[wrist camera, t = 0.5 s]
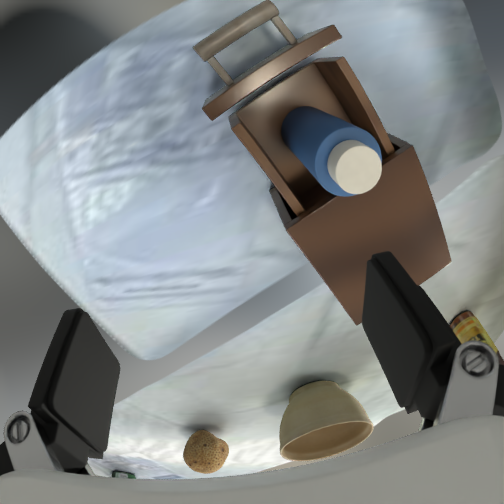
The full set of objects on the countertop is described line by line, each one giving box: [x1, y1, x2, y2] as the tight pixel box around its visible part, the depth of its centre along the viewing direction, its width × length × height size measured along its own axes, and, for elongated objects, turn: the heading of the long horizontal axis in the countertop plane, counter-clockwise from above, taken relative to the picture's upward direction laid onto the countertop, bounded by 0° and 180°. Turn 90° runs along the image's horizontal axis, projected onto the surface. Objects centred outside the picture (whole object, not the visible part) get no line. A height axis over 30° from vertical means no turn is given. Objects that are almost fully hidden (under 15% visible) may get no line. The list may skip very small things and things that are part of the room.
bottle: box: [281, 106, 382, 197], centre depth 22 cm, size 5×5×12 cm
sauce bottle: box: [450, 311, 504, 365], centre depth 41 cm, size 7×6×20 cm
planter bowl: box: [280, 381, 374, 461], centre depth 49 cm, size 16×16×11 cm
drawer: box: [193, 0, 395, 217], centre depth 24 cm, size 18×11×7 cm, turn 35°
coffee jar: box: [112, 471, 136, 479], centre depth 67 cm, size 10×8×19 cm
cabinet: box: [270, 133, 451, 325], centre depth 31 cm, size 15×13×9 cm
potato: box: [183, 430, 229, 474], centre depth 54 cm, size 9×9×10 cm
